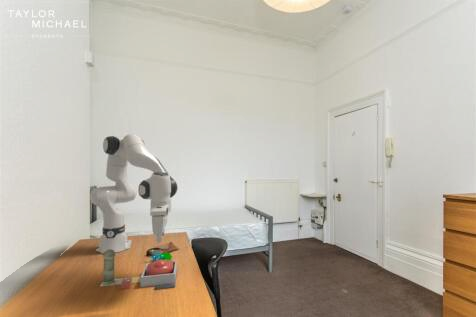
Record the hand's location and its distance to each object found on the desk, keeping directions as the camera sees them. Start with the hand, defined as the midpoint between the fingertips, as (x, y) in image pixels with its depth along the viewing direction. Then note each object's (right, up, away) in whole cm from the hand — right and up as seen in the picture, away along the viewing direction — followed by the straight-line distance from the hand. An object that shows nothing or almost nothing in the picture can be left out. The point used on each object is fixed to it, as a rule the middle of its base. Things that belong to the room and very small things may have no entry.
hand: (160, 238), depth 100 cm
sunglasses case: (-9, -20, +32) cm, 39 cm away
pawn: (-21, -17, -5) cm, 27 cm away
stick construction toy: (-7, -19, +19) cm, 28 cm away
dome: (0, -16, -1) cm, 16 cm away
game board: (-8, -18, -2) cm, 20 cm away
